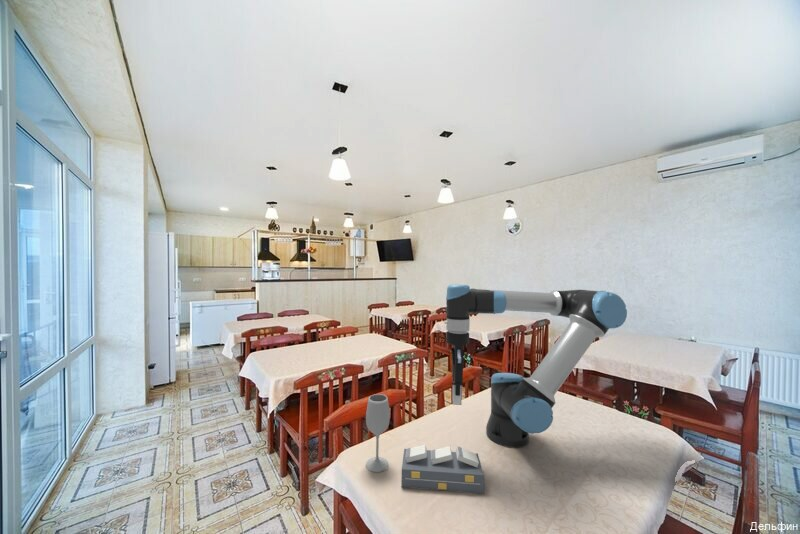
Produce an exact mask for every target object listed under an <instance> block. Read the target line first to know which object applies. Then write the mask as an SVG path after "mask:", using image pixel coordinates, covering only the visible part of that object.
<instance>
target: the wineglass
mask: <svg viewBox="0 0 800 534" xmlns="http://www.w3.org/2000/svg"><path fill="white" fill-rule="evenodd" d="M389 404H390V403H389V400H388V396H387V395H385V394H381V393H376V394H372V395H370V396H369V397H368V400H367V406H366V413H365V424H366V427H367V429H368V430H369V431H370V432H371V433H372V434H373V435H374V436H375V440H376V442H375V443H376V445H375V457H371V458H369V459H368V460H367V461H366V462H365V468H366V470H368V471H369V472H372V473H381V472H384V471H386V470H387V469H388V467H389V461H388V460H387V458H384V457H381V456H379V449H380V448H379V442H380V441H379V440H380V439H379V438H380V436H381V435H382V434H383V433H384V432H385V431H387V429H388V428H389V425H390V421H391V418H390V417H391V414H390V405H389Z"/></svg>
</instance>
